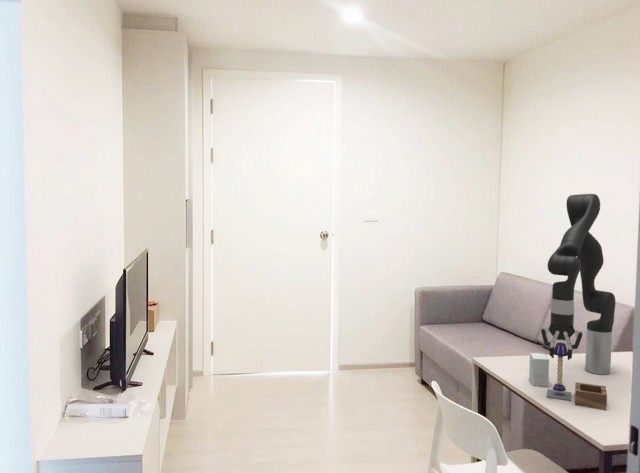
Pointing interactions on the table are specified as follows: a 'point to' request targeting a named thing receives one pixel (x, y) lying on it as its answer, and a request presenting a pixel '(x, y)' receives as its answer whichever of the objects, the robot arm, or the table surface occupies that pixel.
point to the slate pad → (559, 395)
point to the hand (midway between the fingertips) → (560, 358)
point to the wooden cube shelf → (591, 396)
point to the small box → (539, 369)
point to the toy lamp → (560, 365)
